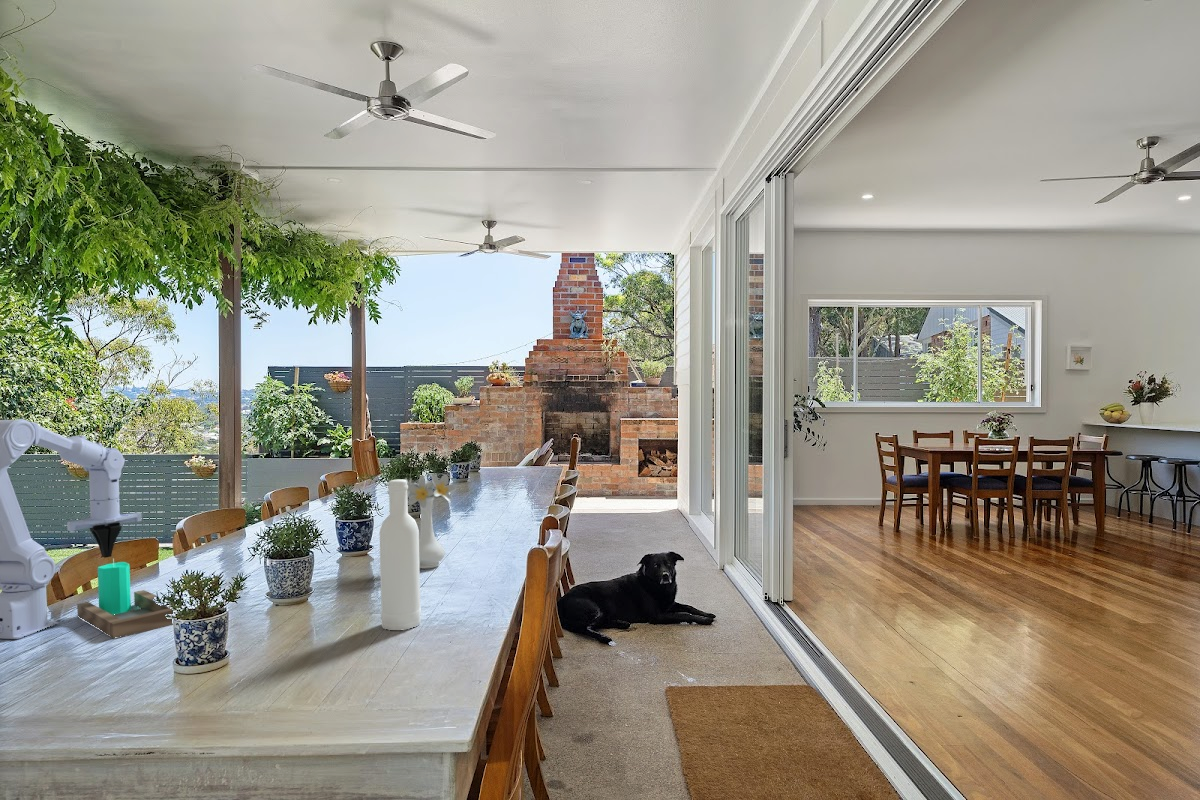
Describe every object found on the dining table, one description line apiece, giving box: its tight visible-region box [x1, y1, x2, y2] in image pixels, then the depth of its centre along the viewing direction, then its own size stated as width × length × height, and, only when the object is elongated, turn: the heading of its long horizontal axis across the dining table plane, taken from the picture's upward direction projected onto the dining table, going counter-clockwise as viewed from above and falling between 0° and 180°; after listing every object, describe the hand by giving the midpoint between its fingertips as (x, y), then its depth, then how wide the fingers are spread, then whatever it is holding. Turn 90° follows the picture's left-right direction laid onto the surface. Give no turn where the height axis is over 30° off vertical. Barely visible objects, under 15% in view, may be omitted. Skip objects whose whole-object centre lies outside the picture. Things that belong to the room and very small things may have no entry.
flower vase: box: [387, 473, 458, 570], centre depth 198 cm, size 13×18×25 cm
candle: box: [97, 558, 132, 615], centre depth 163 cm, size 6×6×12 cm
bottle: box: [379, 478, 422, 631], centre depth 151 cm, size 8×8×30 cm
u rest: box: [76, 589, 173, 639], centre depth 157 cm, size 22×13×3 cm, turn 51°
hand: (106, 556), depth 171 cm, fingers closed
